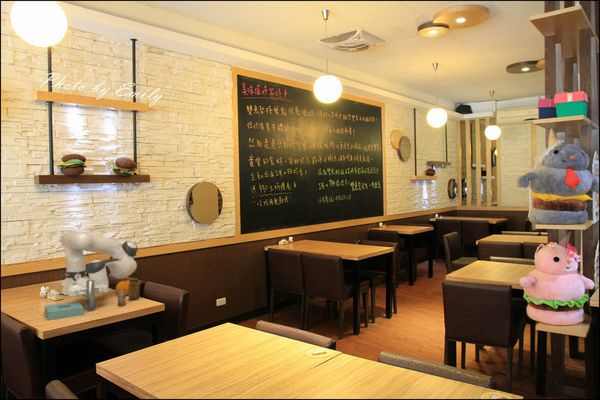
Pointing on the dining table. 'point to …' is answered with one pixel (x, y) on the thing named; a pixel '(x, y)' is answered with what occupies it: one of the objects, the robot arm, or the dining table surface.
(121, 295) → the short pin
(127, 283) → the fruit
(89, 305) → the long pin
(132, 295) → the condiment
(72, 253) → the robot arm
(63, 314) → the hole plate
